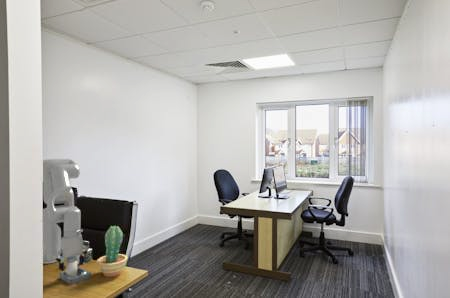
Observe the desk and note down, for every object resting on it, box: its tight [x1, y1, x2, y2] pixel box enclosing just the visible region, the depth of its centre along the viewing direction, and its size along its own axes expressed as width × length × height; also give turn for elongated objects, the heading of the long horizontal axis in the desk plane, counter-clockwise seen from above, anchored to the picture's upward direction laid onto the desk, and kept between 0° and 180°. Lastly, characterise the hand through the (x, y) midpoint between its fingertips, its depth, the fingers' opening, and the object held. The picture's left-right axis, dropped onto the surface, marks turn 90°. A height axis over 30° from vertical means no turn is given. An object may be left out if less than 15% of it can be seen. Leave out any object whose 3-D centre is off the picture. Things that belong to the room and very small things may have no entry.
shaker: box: [65, 256, 78, 279], centre depth 147 cm, size 5×5×10 cm
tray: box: [59, 266, 92, 286], centre depth 147 cm, size 12×10×3 cm
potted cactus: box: [96, 225, 128, 277], centre depth 153 cm, size 15×15×25 cm
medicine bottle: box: [76, 240, 93, 265], centre depth 169 cm, size 7×7×12 cm
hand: (71, 267), depth 148 cm, fingers open, 9 cm apart
